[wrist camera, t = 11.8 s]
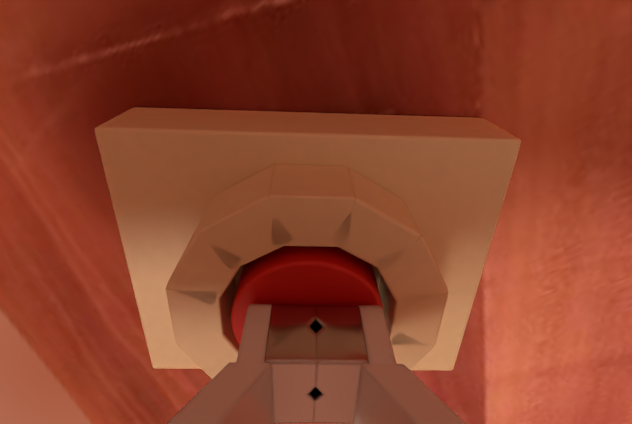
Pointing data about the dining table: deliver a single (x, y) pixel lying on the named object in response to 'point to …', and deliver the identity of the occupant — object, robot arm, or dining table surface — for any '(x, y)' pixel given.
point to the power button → (304, 281)
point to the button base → (303, 216)
